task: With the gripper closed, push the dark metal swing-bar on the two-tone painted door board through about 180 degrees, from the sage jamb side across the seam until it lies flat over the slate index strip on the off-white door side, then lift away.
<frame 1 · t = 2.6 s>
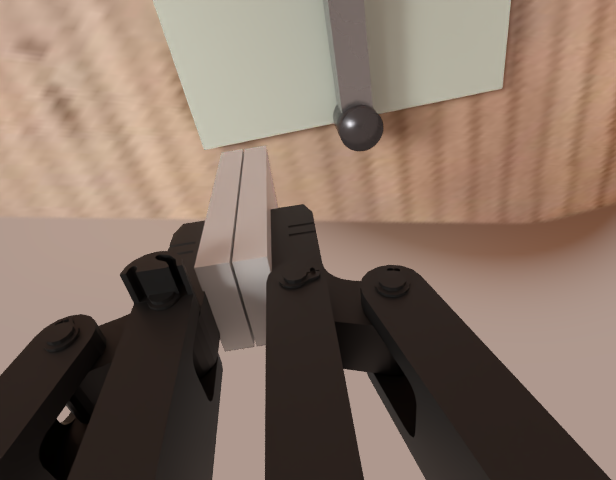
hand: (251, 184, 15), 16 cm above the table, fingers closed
swing bar: (348, 39, 24), point 4 cm above the table, hinge at 0.0°
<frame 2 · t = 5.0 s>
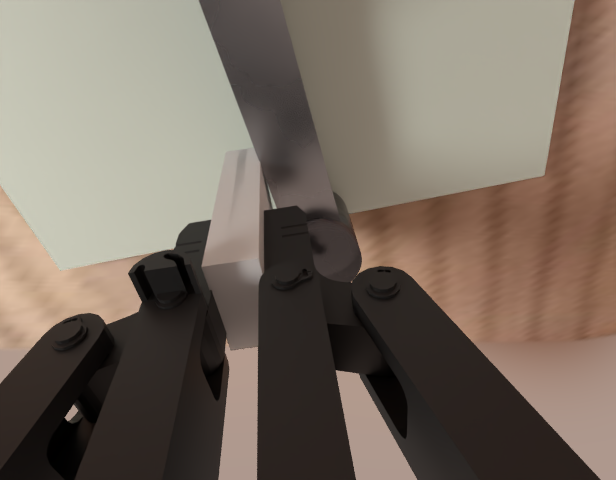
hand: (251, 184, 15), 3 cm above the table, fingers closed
swing bar: (278, 112, 13), point 4 cm above the table, hinge at 5.1°, touching gripper
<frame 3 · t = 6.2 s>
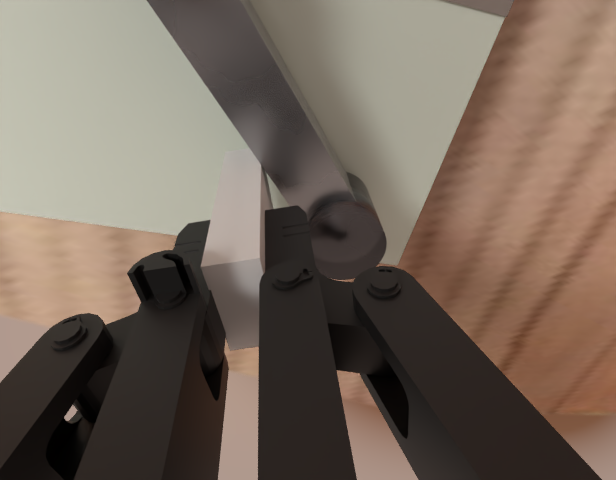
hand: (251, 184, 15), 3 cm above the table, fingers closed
swing bar: (264, 104, 12), point 3 cm above the table, hinge at 41.8°, touching gripper
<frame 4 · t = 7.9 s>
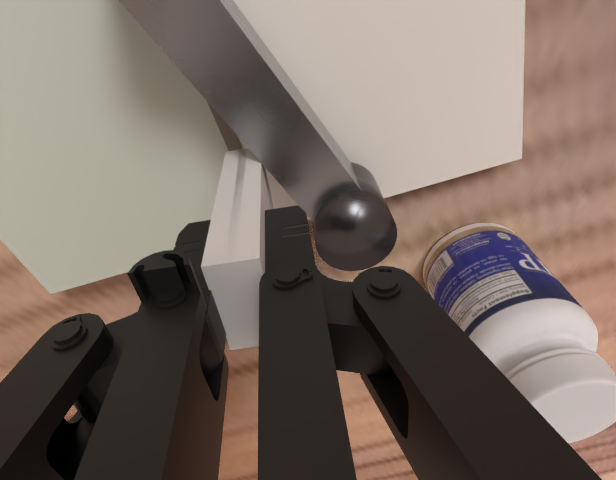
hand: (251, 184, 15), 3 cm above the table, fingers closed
pill bottle: (468, 258, 21), on the table
swing bar: (259, 103, 12), point 4 cm above the table, hinge at 109.7°, touching gripper
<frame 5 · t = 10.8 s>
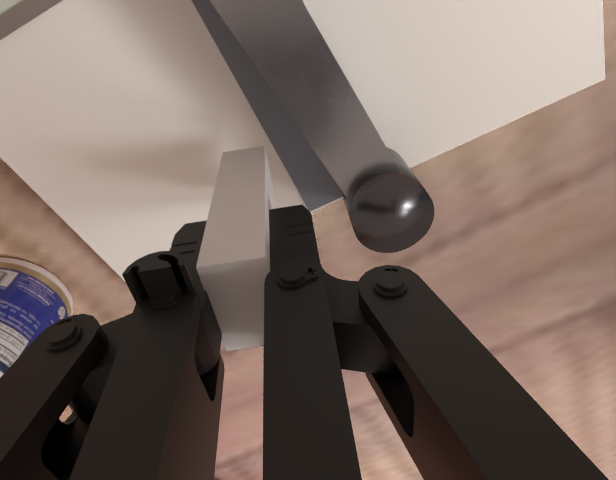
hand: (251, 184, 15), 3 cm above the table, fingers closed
pill bottle: (22, 292, 21), on the table
swing bar: (307, 78, 12), point 3 cm above the table, hinge at 187.9°
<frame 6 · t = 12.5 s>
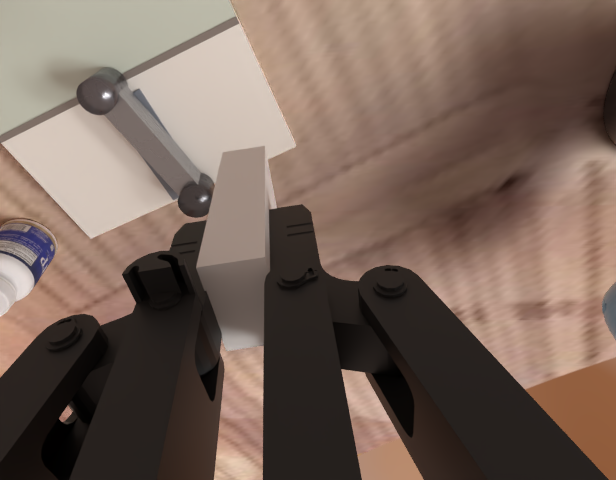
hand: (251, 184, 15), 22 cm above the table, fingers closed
pill bottle: (30, 238, 40), on the table
swing bar: (155, 148, 32), point 4 cm above the table, hinge at 187.9°
door board: (116, 79, 32), on the table
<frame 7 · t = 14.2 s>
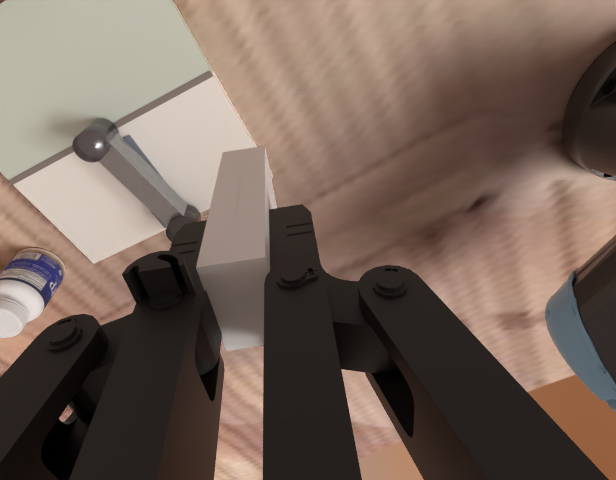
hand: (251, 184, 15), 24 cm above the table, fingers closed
pill bottle: (42, 264, 45), on the table
swing bar: (144, 186, 37), point 3 cm above the table, hinge at 187.9°
door board: (110, 126, 37), on the table
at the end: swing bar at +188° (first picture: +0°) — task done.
